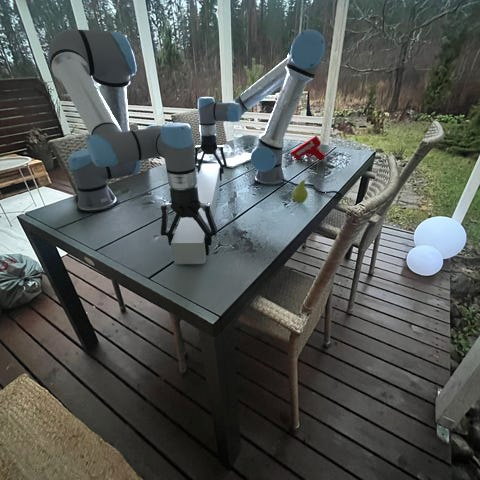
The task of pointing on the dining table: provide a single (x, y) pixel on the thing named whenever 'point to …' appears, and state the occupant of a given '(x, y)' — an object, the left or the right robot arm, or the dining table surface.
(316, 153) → the toy gun
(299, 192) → the fruit
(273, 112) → the right robot arm
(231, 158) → the relief map
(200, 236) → the long white beam
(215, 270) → the dining table surface
